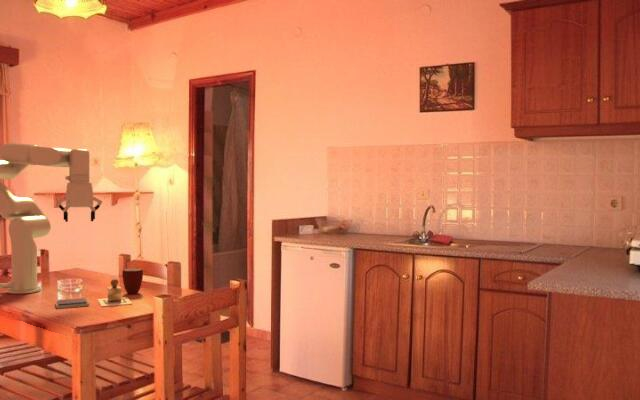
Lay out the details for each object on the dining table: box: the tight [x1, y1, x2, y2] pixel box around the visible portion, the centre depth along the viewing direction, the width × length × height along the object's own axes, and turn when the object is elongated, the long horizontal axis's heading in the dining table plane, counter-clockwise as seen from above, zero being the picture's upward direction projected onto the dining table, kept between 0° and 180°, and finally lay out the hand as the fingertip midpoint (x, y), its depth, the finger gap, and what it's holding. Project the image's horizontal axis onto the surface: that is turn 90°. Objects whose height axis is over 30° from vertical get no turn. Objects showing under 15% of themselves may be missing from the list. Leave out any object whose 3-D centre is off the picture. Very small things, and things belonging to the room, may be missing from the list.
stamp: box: [107, 278, 122, 303], centre depth 217 cm, size 4×4×9 cm
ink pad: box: [54, 297, 90, 310], centre depth 211 cm, size 11×9×2 cm
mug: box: [121, 267, 144, 295], centre depth 235 cm, size 11×8×10 cm
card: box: [97, 296, 133, 308], centre depth 217 cm, size 11×14×1 cm
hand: (79, 221), depth 229 cm, fingers open, 9 cm apart
